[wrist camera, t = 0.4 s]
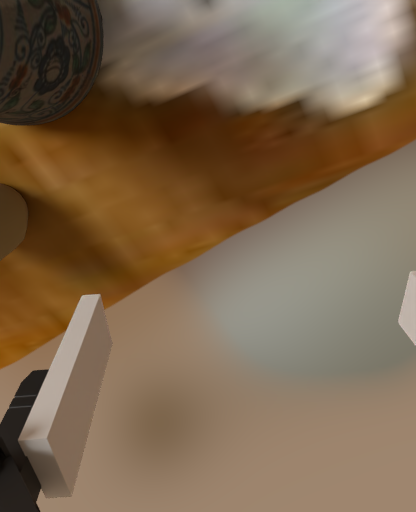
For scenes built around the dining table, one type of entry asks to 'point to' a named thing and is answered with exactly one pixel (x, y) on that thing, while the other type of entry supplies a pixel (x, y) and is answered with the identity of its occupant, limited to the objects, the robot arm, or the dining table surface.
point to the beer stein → (47, 57)
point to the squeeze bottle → (11, 219)
